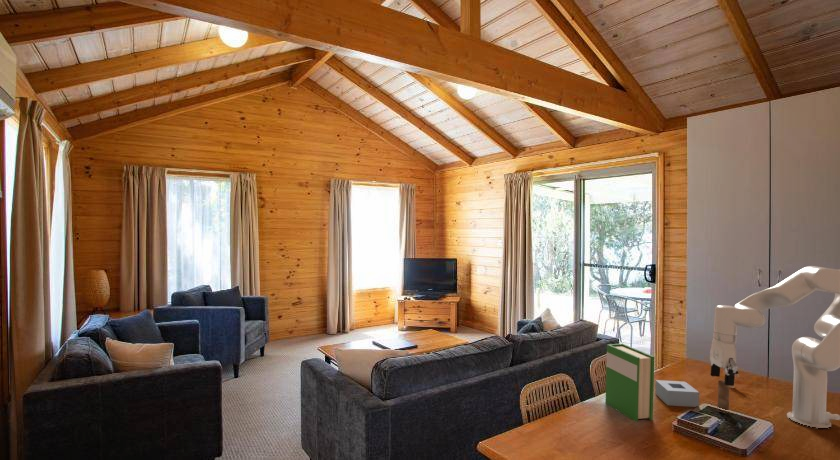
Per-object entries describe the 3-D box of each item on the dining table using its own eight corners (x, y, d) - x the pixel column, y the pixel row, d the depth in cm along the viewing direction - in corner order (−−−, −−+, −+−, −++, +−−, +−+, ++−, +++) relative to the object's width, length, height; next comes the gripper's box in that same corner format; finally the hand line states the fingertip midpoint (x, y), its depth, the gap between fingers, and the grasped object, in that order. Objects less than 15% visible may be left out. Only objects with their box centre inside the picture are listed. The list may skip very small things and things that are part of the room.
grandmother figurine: (719, 384, 205) (719, 357, 205) (724, 383, 207) (725, 356, 207) (736, 390, 198) (737, 362, 198) (742, 389, 200) (743, 361, 200)
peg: (725, 410, 177) (726, 380, 176) (730, 414, 173) (731, 384, 173) (715, 410, 177) (716, 380, 177) (720, 414, 173) (721, 383, 173)
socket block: (684, 395, 192) (685, 381, 191) (698, 407, 180) (699, 392, 180) (655, 393, 193) (655, 380, 193) (667, 405, 181) (667, 390, 181)
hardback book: (652, 420, 167) (654, 356, 167) (635, 421, 166) (637, 357, 165) (621, 401, 184) (622, 343, 184) (605, 402, 183) (606, 344, 182)
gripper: (703, 331, 183) (700, 372, 184) (727, 342, 166) (724, 388, 167) (722, 332, 182) (719, 373, 183) (748, 344, 165) (745, 389, 166)
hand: (721, 380), depth 175 cm, fingers open, 9 cm apart
